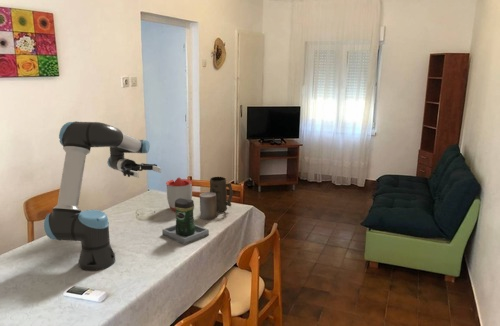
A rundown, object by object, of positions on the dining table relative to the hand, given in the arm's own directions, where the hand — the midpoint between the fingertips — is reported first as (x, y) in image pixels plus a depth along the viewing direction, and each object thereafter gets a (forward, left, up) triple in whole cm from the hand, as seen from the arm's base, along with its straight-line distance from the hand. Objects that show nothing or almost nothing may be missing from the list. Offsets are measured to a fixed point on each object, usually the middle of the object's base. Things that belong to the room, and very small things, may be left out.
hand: (149, 172), depth 206 cm
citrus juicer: (+32, +17, -32) cm, 49 cm away
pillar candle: (+34, -7, -32) cm, 47 cm away
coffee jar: (+8, -18, -31) cm, 37 cm away
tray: (+8, -18, -32) cm, 37 cm away
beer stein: (+48, -4, -32) cm, 58 cm away
